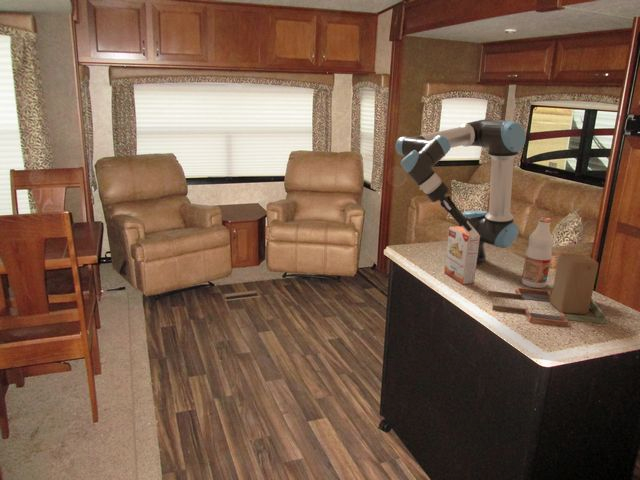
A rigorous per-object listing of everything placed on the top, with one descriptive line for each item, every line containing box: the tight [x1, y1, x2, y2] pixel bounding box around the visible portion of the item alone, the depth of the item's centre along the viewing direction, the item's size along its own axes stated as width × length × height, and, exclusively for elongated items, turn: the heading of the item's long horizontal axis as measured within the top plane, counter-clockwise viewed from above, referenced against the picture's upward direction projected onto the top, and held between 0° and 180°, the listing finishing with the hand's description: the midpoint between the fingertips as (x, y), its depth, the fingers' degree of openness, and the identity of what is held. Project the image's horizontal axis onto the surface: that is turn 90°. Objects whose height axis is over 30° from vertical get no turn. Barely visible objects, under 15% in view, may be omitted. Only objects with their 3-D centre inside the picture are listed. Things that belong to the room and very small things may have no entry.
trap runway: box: [487, 287, 607, 328], centre depth 181 cm, size 29×37×3 cm
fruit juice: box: [521, 216, 554, 289], centre depth 200 cm, size 9×9×28 cm
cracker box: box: [444, 225, 480, 285], centre depth 204 cm, size 14×6×21 cm, turn 18°
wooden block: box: [550, 253, 599, 315], centre depth 179 cm, size 10×10×20 cm
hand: (475, 236), depth 182 cm, fingers closed
